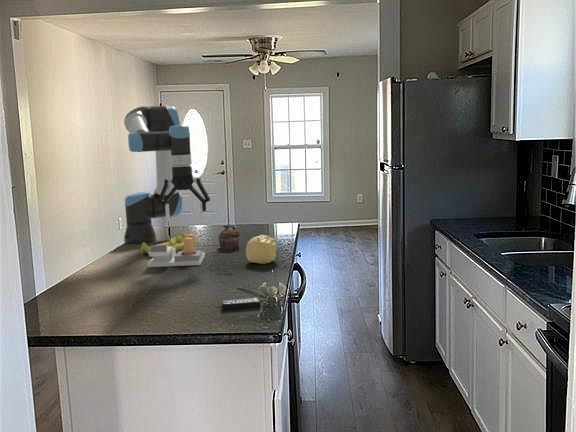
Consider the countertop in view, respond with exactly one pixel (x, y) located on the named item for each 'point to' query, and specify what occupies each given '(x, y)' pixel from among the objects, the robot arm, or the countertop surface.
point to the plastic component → (175, 242)
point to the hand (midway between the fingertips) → (185, 220)
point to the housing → (178, 257)
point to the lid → (160, 250)
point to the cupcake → (229, 237)
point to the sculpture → (261, 249)
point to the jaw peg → (188, 246)
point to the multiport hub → (241, 304)
